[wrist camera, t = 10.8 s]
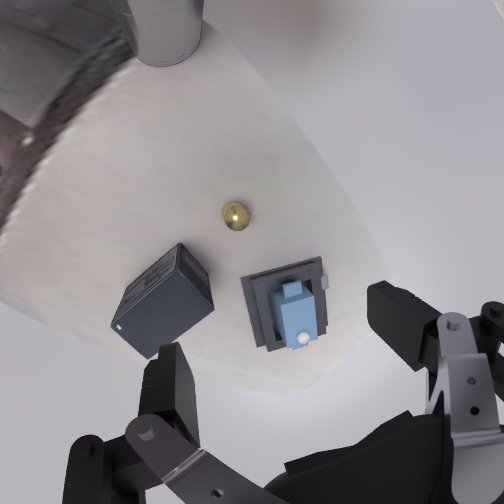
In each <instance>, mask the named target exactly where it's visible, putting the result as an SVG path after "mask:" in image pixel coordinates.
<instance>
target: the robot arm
mask: <svg viewBox="0 0 504 504" xmlns="http://www.w3.org/2000/svg"><path fill="white" fill-rule="evenodd" d="M108 2H109V4H110V6H111V8H112V10H113V12H114V14H115V16H116V18H117V20H118V22H119V24H120V26H121V28H122V30H123V32H124V34H125V36H126V38H127V40H128V42H129V44H130V46H131V48H132V50H133V52H134V54H135V55H136V57H137V58H138V59H139V60H140V61H142V62H143V63H145V64H148V65H151V66H156V67H164V66H171V65H174V64H177V63H179V62H181V61H183V60H185V59H186V58H188V57H189V56H190V55H191V54H192V53H193V52H194V51H195V49H196V48H197V46H198V44H199V41H200V33H201V24H202V13H203V4H204V0H108ZM367 319H368V323H369V325H370V327H371V328H372V330H373V331H374V332H375V333H377V334H378V336H380V337H381V338H382V339H383V340H384V341H385V342H386V343H387V344H388V345H389V346H390V347H391V348H392V349H393V350H394V351H395V352H396V353H397V354H398V355H399V356H400V357H401V358H402V359H403V360H404V361H405V362H406V363H407V364H408V365H409V366H410V367H411V368H412V369H413V370H414V371H415V372H416V371H418V370H420V369H421V368H423V367H426V368H427V372H426V409H425V414H423V415H418V416H414V417H413V416H412V414H411V413H410V412H409V411H408V410H407V411H405V412H403V413H402V414H400V415H398V416H396V417H394V418H392V419H391V420H389V421H387V422H385V423H383V424H381V425H380V426H379V427H378V428H376V429H375V430H374V431H373V432H371V433H370V434H369V435H367V436H366V437H365V438H364V439H362V440H361V441H360V442H359V443H357V444H355V445H353V446H349V447H344V448H339V449H334V450H328V451H321V452H316V453H314V454H311V455H308V456H305V457H302V458H299V459H296V460H293V461H290V462H287V463H284V466H285V469H286V472H284V473H282V474H280V475H279V476H277V477H276V478H274V479H273V480H272V481H270V482H269V483H268V484H267V485H266V486H265V487H264V488H261V487H259V486H258V485H256V484H254V483H253V482H251V481H250V480H248V479H247V478H245V477H243V476H242V475H240V474H239V473H237V472H236V471H234V470H232V469H231V468H230V467H228V466H227V465H225V464H224V463H222V462H221V461H220V460H218V459H217V458H216V457H214V456H213V455H211V454H210V453H209V452H207V451H205V450H203V449H202V450H201V451H200V450H199V449H198V448H200V439H199V429H198V419H197V408H196V394H195V382H194V378H193V374H192V371H191V369H190V367H189V364H188V362H187V360H186V358H185V355H184V353H183V351H182V348H181V346H180V344H179V342H174V343H169V344H165V345H160V346H159V353H158V359H154V360H150V362H149V363H148V365H147V366H146V368H145V369H144V375H143V382H142V389H141V396H140V403H139V411H138V417H137V418H135V419H134V420H132V421H131V422H130V423H129V425H128V426H127V428H126V431H125V434H124V435H122V436H120V437H117V438H115V439H112V440H109V441H106V442H103V440H102V439H101V438H99V437H98V436H96V435H85V436H82V437H80V438H78V439H77V440H76V441H75V442H74V443H73V445H72V446H71V449H70V453H69V458H68V465H67V470H66V477H65V484H64V491H63V500H62V504H146V498H145V490H146V489H150V488H152V487H155V486H158V485H160V484H163V483H165V485H166V486H168V488H169V489H171V490H172V491H173V492H174V493H175V494H176V495H177V496H178V497H179V498H180V499H181V500H182V501H183V502H184V503H185V504H504V425H501V424H499V418H498V410H497V403H496V397H495V394H496V395H497V396H498V397H499V398H500V399H501V400H502V401H503V402H504V357H503V356H502V355H501V354H500V353H498V351H499V348H500V345H501V342H502V343H503V344H504V304H502V303H500V302H495V301H491V302H487V303H485V304H484V305H483V306H482V309H481V314H480V316H476V317H473V318H469V319H468V318H467V317H466V316H464V315H462V314H460V313H455V312H454V313H453V312H450V313H445V314H442V313H440V312H439V311H437V310H436V309H434V308H433V307H431V306H430V305H428V304H427V303H426V302H424V301H422V300H421V299H419V298H418V297H415V295H414V294H412V293H411V292H409V291H408V290H405V289H401V288H398V287H394V286H393V285H391V284H390V283H388V282H387V281H385V280H383V281H380V282H378V283H375V284H372V285H370V286H368V289H367Z"/></svg>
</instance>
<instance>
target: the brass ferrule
mask: <svg viewBox="0 0 504 504" xmlns="http://www.w3.org/2000/svg"><path fill="white" fill-rule="evenodd" d="M222 218H223V220H224V221H225V223H226V225H227V226H228V227H229V228H230V229H231V230H234V231H241V230H243V229H245V228H246V227H247V226H248V225H249V223H250V213H249V211H248V210H247V209H246V208H245V207H243V206H242V205H241V204H239V203H237V202H230V203H228V204H226V205H225V206H224V207H223V210H222Z"/></svg>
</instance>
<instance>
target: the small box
mask: <svg viewBox="0 0 504 504" xmlns="http://www.w3.org/2000/svg"><path fill="white" fill-rule="evenodd" d="M214 310H215V308H214V305H213V300H212V295H211V289H210V284H209V278H208V274H207V273H206V271H205V270H204V269H203V268H202V267H201V266H200V264H199V263H198V262H197V261H196V260H195V259H194V257H193V256H192V255H191V254H190V253H189V252H188V250H187V249H186V248H185V247H184V246H183V245H182V244H181V243H178V244H177V245H176V246H175V247H174V248H172V249H171V250H170V251H169V252H168V253H166V254H165V255H164V256H163V257H161V258H160V259H159V260H158V261H157V262H155V263H154V264H153V265H152V266H151V267H150V268H148V269H147V270H146V271H145V272H144V273H142V274H141V275H140V276H139V277H138V278H137V279H136V280H135V281H134V282H132V283H131V284H130V285H129V286H128V287H127V288H126V290H125V293H124V295H123V298H122V300H121V302H120V305H119V306H118V309H117V311H116V313H115V315H114V318H113V320H112V323H111V325H110V327H111V328H112V329H113V330H114V331H115V332H116V333H118V334H119V335H120V336H121V337H122V338H123V339H124V340H125V341H126V342H127V343H129V344H130V345H131V346H132V347H133V348H134V349H135V350H136V351H138V352H139V353H140V354H141V355H142V356H143V357H145V358H146V359H150V358H151V357H152V356H154V355H155V354H157V353H158V352H159V346H160V345H165V344H169V343H171V342H173V341H174V340H175V339H177V338H178V337H179V336H181V335H182V334H183V333H185V332H186V331H187V330H189V329H190V328H191V327H193V326H194V325H195V324H197V323H198V322H199V321H201V320H202V319H203V318H205V317H206V316H207V315H209V314H210V313H211V312H213V311H214Z"/></svg>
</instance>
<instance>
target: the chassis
mask: <svg viewBox="0 0 504 504" xmlns="http://www.w3.org/2000/svg"><path fill="white" fill-rule="evenodd" d="M240 279H241V283H242V287H243V292H244V296H245V300H246V304H247V308H248V313H249V317H250V321H251V325H252V329H253V333H254V337H255V341H256V345H257V347H261V346H264V345H265V346H266V348H267V351H268V352H270V351H273V350H277V349H280V348H283V347H286V345H285V343H284V341H283V339H282V337H281V335H280V333H279V331H278V329H277V326H276V320H275V315H274V309H273V303H272V298H271V292H270V291H271V290H274V289H278V288H281V287H282V285H285V284H288V283H292V282H296V281H299V280H300V281H301V282H302V284H303V285H304V286H305V287H306V288H307V289H308V290H309V291H310V292H311V293H312V294H313V295H314V302H315V312H316V323H317V335H318V336H320V335H323V334H326V326H327V325H328V321H327V309H326V298H325V289H328V288H329V287H328V277H327V275H326V274H325V273H324V272H323V269H322V260H321V257H316V258H313V259H309V260H305V261H302V262H298V263H294V264H291V265H287V266H283V267H280V268H276V269H272V270H269V271H265V272H261V273H257V274H253V275H250V276H246V277H242V278H240Z"/></svg>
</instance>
